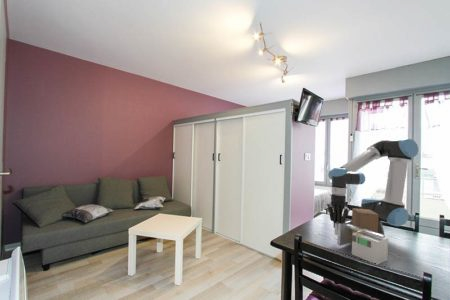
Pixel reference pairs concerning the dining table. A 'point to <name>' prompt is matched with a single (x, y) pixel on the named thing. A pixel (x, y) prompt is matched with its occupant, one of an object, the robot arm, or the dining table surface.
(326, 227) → the dining table surface
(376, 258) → the white box
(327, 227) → the dining table surface
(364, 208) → the robot arm
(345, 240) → the gauge plunger
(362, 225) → the wooden block
